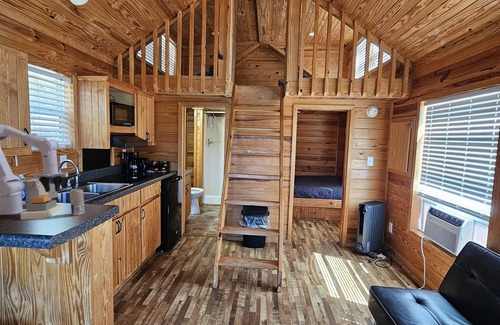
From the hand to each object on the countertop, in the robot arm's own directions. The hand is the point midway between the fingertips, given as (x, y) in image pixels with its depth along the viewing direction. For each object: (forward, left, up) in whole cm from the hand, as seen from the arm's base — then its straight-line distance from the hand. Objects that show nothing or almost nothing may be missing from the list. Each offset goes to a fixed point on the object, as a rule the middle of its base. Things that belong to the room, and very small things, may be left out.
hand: (52, 191), depth 130 cm
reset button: (-3, -4, -4) cm, 6 cm away
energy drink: (+14, -6, -11) cm, 19 cm away
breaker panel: (-3, -4, -10) cm, 12 cm away
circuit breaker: (-13, +14, -11) cm, 22 cm away
